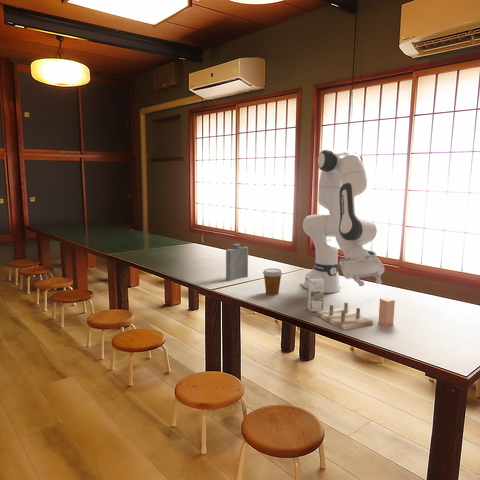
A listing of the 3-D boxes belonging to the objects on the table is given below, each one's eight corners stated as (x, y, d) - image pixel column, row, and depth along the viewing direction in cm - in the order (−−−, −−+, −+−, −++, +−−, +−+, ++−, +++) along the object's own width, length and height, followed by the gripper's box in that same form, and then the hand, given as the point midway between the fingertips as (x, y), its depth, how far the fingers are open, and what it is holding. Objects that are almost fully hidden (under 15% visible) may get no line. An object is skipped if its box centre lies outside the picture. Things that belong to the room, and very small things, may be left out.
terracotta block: (378, 322, 166) (379, 298, 164) (385, 320, 167) (387, 297, 166) (385, 325, 162) (387, 301, 161) (393, 324, 164) (394, 300, 162)
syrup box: (319, 307, 183) (321, 276, 181) (323, 312, 177) (324, 280, 175) (307, 308, 183) (308, 276, 181) (310, 312, 177) (311, 280, 175)
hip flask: (228, 281, 228) (228, 246, 225) (223, 279, 231) (223, 245, 228) (249, 276, 239) (249, 243, 235) (244, 275, 242) (244, 242, 238)
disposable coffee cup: (267, 289, 211) (267, 267, 209) (284, 292, 207) (284, 269, 205) (259, 294, 203) (260, 271, 201) (277, 297, 199) (278, 273, 197)
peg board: (317, 315, 174) (317, 303, 173) (343, 310, 179) (344, 298, 178) (344, 330, 157) (345, 316, 157) (372, 324, 163) (373, 311, 162)
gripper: (341, 255, 172) (355, 283, 164) (378, 251, 180) (393, 278, 173) (333, 263, 176) (347, 290, 169) (370, 259, 185) (384, 285, 178)
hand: (371, 284), depth 171 cm, fingers open, 8 cm apart
